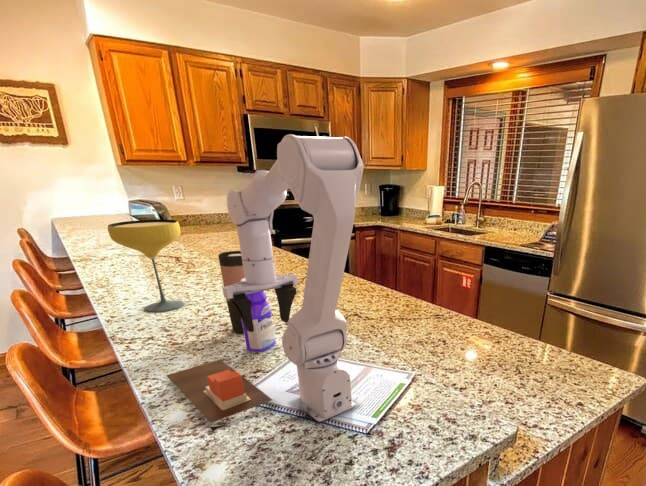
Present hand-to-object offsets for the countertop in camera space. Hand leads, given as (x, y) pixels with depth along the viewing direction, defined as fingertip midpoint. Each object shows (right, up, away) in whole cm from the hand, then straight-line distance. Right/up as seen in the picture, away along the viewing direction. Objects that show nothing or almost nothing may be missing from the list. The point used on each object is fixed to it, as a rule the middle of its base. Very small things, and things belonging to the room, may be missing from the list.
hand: (268, 325), depth 86 cm
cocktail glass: (-47, +9, +47) cm, 67 cm away
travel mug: (-15, +1, +28) cm, 32 cm away
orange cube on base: (-5, -13, -8) cm, 16 cm away
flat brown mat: (-8, -13, -4) cm, 16 cm away
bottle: (-6, -5, +14) cm, 16 cm away
